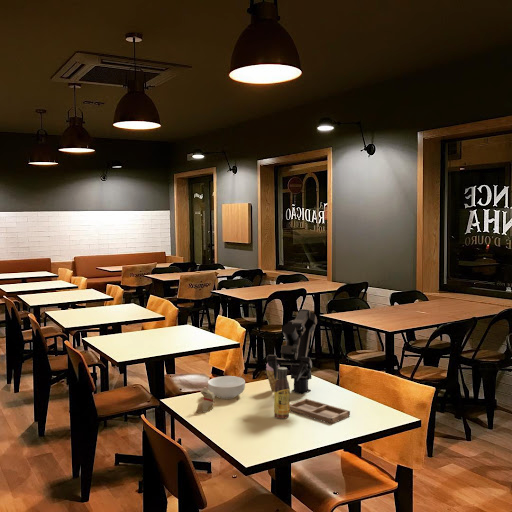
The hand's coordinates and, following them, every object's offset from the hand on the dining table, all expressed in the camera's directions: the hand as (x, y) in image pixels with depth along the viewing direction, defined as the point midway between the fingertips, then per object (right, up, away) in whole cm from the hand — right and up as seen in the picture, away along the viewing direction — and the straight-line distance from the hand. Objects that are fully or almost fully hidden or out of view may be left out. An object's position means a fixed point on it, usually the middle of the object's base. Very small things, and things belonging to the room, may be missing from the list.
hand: (285, 379), depth 233 cm
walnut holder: (+13, -13, -2) cm, 19 cm away
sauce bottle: (-2, -14, -6) cm, 15 cm away
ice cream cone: (-4, -11, +28) cm, 31 cm away
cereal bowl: (-25, -12, +22) cm, 36 cm away
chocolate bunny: (-33, -14, +4) cm, 36 cm away
